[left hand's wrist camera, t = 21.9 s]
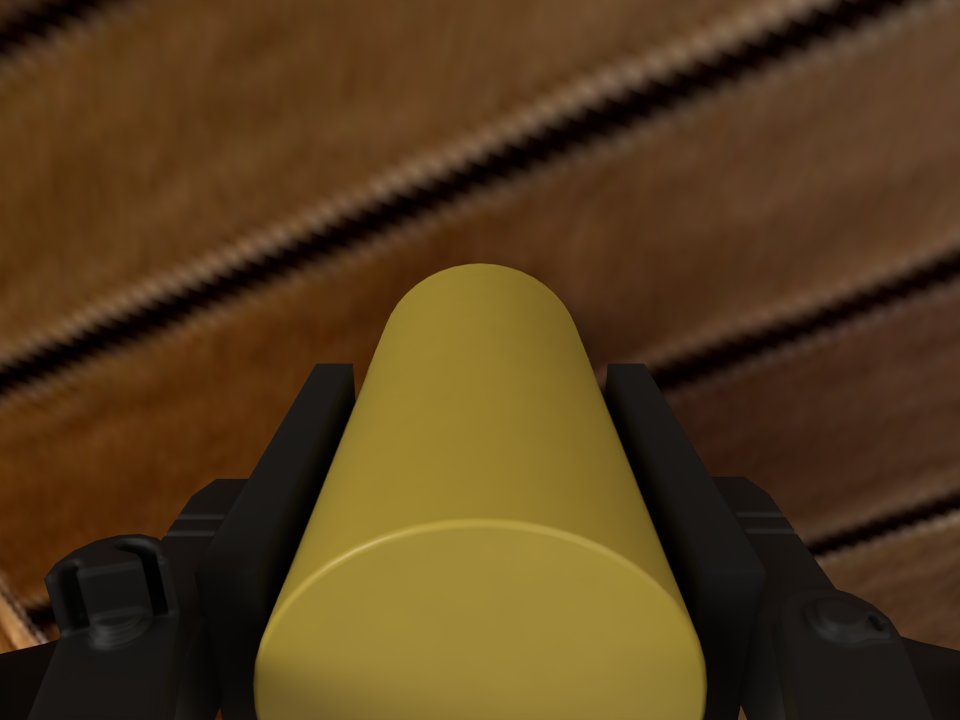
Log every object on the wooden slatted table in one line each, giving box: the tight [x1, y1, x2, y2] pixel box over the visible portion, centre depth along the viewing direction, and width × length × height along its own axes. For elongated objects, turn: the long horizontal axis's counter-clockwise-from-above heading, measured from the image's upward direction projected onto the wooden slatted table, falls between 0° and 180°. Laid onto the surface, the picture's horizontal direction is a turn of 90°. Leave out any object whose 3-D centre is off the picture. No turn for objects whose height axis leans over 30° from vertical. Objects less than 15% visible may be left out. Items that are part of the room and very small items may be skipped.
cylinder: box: [253, 264, 708, 720], centre depth 13 cm, size 5×5×11 cm
